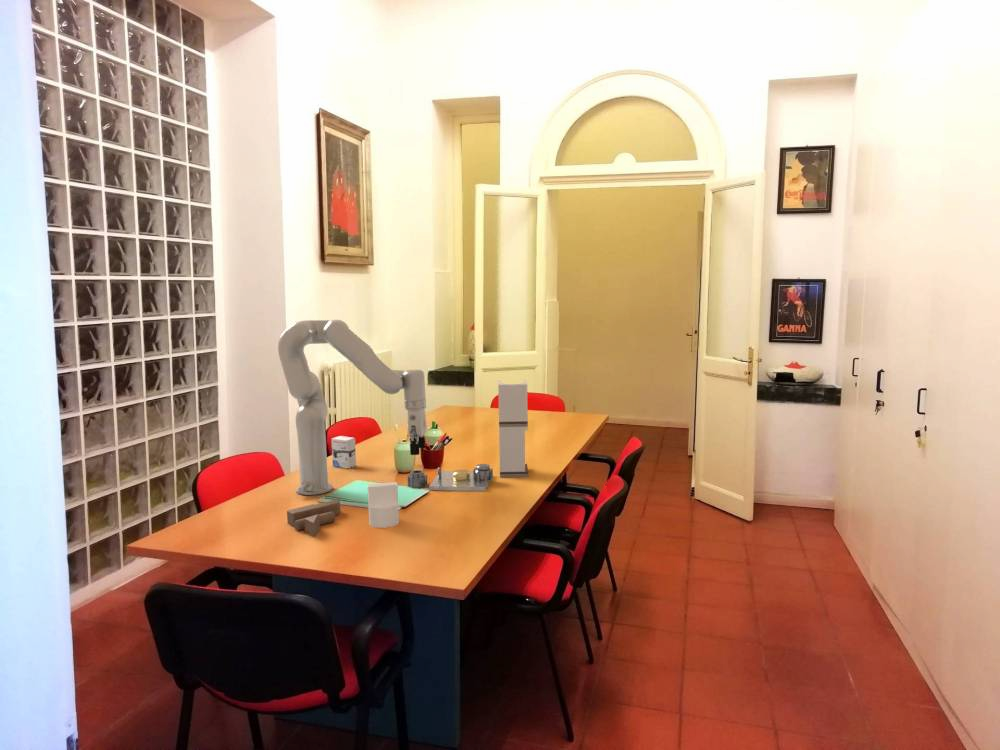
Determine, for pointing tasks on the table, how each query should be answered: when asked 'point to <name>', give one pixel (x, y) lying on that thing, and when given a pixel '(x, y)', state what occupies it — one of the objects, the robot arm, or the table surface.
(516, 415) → the grey tall pillar
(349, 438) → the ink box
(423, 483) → the planet gear
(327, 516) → the wooden block set
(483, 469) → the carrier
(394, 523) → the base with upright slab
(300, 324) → the robot arm
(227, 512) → the table surface
